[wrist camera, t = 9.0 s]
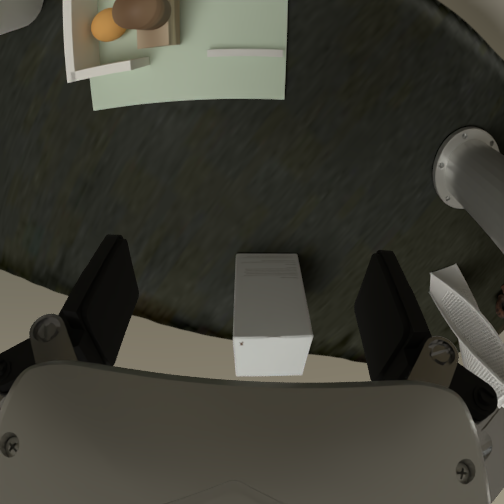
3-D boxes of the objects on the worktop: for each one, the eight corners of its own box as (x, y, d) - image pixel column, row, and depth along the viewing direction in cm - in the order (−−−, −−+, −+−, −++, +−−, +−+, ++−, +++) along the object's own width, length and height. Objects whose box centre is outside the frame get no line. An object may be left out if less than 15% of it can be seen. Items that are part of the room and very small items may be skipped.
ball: (84, 14, 22) (115, 10, 24) (85, 46, 24) (116, 41, 27) (101, 5, 20) (135, 3, 23) (102, 41, 22) (136, 36, 25)
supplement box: (236, 296, 51) (233, 378, 39) (235, 251, 45) (230, 337, 33) (293, 296, 51) (303, 377, 39) (299, 252, 45) (314, 336, 33)
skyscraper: (463, 256, 46) (539, 391, 24) (459, 285, 50) (520, 412, 28) (425, 269, 48) (493, 417, 25) (424, 298, 52) (478, 434, 30)
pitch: (287, -62, 20) (296, -83, 14) (283, 98, 32) (291, 110, 27) (90, -39, 20) (61, -49, 14) (97, 108, 32) (69, 124, 26)
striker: (182, -15, 23) (156, -35, 15) (183, 44, 27) (156, 45, 19) (149, -10, 23) (112, -25, 15) (150, 47, 27) (113, 52, 19)
